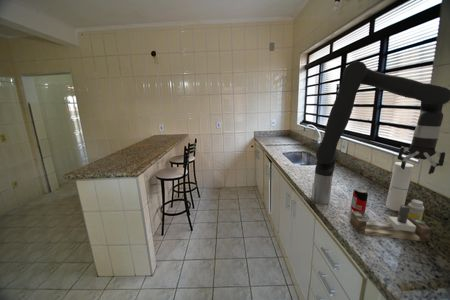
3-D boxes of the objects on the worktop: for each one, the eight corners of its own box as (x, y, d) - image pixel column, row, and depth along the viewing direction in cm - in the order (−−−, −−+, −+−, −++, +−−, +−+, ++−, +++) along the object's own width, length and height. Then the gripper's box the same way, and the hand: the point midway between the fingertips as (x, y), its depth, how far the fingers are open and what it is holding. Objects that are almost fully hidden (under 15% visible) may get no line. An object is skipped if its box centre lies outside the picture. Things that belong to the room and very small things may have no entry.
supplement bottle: (411, 216, 95) (416, 198, 93) (423, 223, 90) (429, 204, 88) (401, 217, 95) (406, 198, 92) (413, 224, 90) (418, 204, 87)
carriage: (395, 229, 81) (399, 209, 79) (387, 221, 87) (391, 202, 84) (414, 231, 80) (420, 211, 77) (405, 223, 85) (410, 204, 83)
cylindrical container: (396, 212, 99) (407, 167, 93) (382, 205, 106) (391, 162, 99) (406, 210, 101) (417, 165, 95) (391, 203, 108) (401, 161, 101)
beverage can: (365, 215, 97) (369, 194, 94) (350, 211, 100) (354, 191, 97) (364, 209, 102) (367, 189, 99) (350, 206, 105) (353, 186, 102)
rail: (356, 232, 84) (359, 220, 83) (349, 221, 92) (351, 210, 90) (427, 241, 78) (431, 228, 77) (414, 229, 86) (417, 217, 84)
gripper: (403, 135, 84) (394, 169, 88) (452, 139, 74) (440, 178, 78) (403, 133, 89) (395, 165, 93) (449, 137, 79) (438, 173, 84)
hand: (416, 171), depth 86 cm, fingers open, 8 cm apart
